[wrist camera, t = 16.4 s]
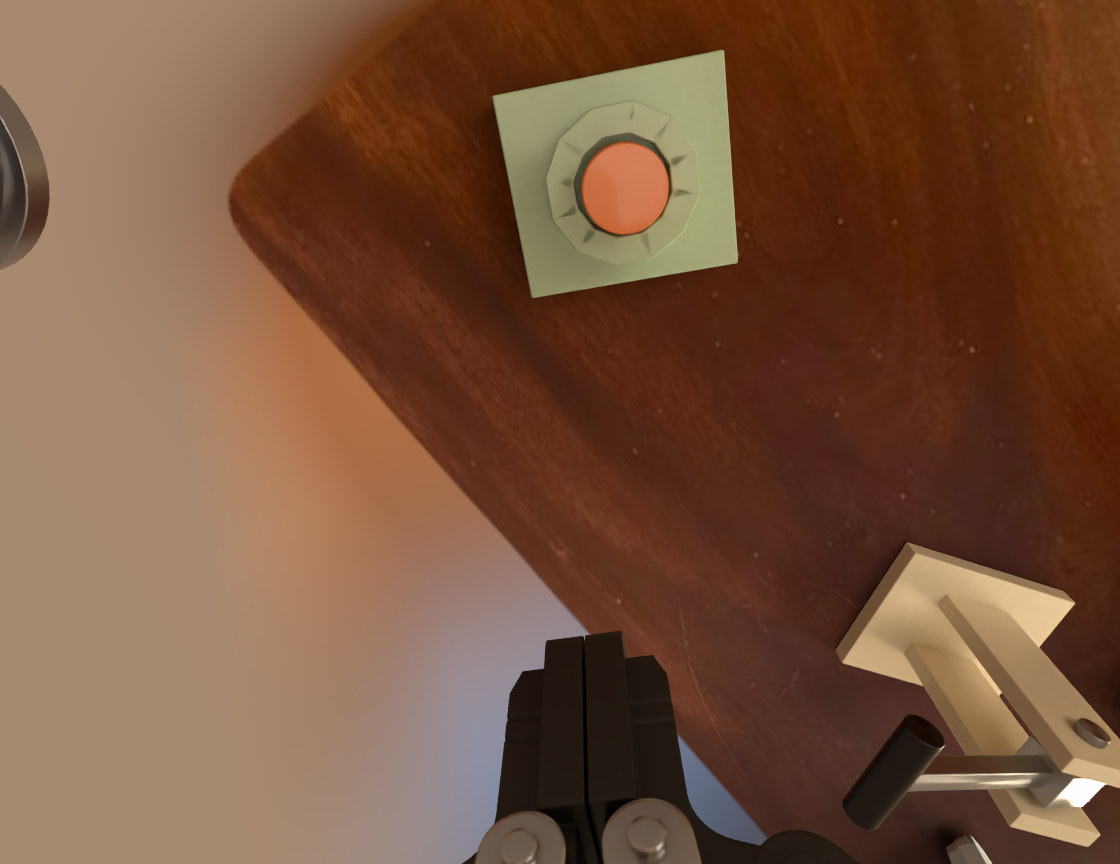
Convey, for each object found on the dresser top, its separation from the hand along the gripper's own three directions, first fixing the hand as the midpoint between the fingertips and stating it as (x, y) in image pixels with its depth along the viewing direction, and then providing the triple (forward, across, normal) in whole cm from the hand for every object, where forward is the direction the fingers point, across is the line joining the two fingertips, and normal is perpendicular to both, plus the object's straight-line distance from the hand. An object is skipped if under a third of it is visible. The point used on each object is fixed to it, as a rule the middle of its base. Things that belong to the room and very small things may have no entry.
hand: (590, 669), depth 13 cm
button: (+21, -3, -7) cm, 22 cm away
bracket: (+25, -20, +23) cm, 39 cm away
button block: (+25, -3, -7) cm, 26 cm away
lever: (+13, -15, +21) cm, 29 cm away
